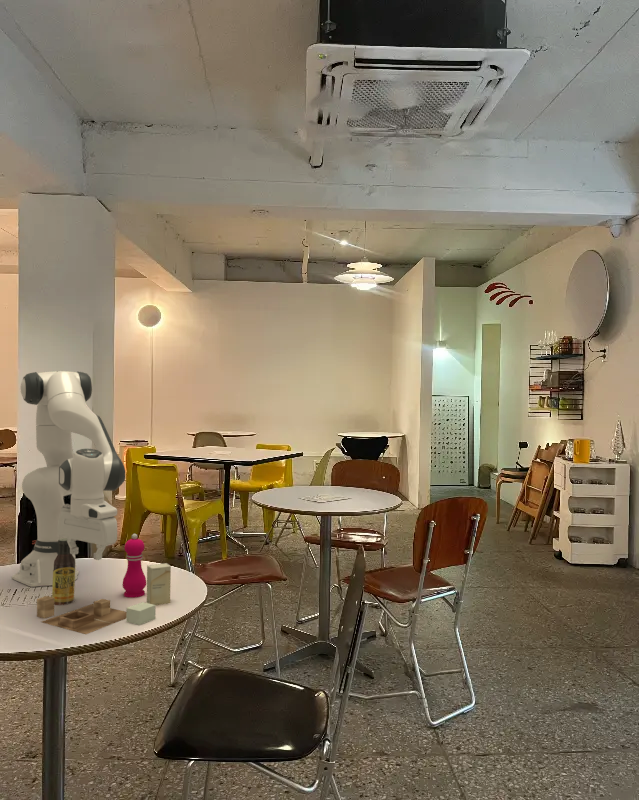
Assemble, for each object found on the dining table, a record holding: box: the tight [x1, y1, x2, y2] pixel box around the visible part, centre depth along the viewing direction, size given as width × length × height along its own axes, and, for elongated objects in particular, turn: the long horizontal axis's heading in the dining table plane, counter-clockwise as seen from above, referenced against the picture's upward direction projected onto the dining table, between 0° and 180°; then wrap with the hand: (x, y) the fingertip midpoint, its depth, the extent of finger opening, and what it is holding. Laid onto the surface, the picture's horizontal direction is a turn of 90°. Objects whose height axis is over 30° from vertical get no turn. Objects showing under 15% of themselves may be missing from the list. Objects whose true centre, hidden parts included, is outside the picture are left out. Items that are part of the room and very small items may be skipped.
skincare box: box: [146, 562, 172, 606], centre depth 199 cm, size 6×4×12 cm
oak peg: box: [36, 595, 55, 620], centre depth 186 cm, size 3×3×6 cm
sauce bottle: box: [51, 538, 76, 606], centre depth 199 cm, size 6×6×20 cm
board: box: [41, 598, 126, 635], centre depth 185 cm, size 18×18×4 cm
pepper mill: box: [121, 533, 147, 599], centre depth 206 cm, size 7×7×20 cm
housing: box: [125, 601, 157, 626], centre depth 183 cm, size 5×6×5 cm
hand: (85, 556), depth 185 cm, fingers open, 8 cm apart
